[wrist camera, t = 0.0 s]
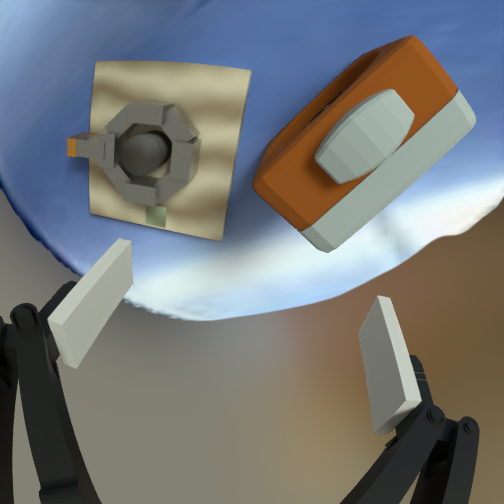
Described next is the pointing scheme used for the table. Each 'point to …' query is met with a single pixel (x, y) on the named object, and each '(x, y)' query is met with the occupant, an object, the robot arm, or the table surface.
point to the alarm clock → (362, 142)
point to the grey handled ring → (116, 135)
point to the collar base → (160, 146)
